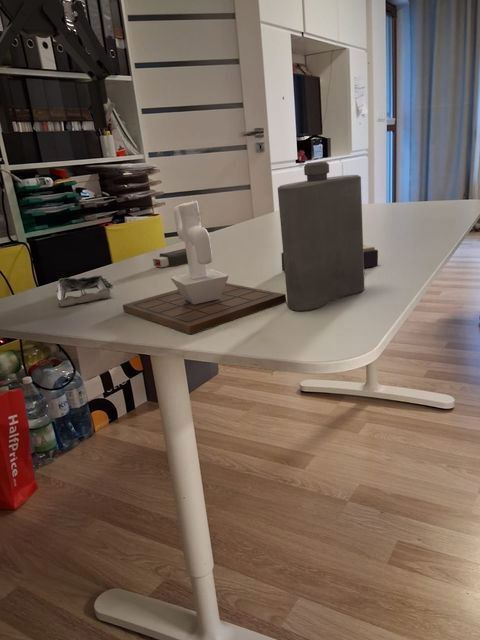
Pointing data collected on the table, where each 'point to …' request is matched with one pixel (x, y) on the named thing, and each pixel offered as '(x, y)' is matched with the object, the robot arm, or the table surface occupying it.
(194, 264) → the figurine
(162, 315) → the board
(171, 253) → the usb drive
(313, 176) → the flask
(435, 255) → the table surface
